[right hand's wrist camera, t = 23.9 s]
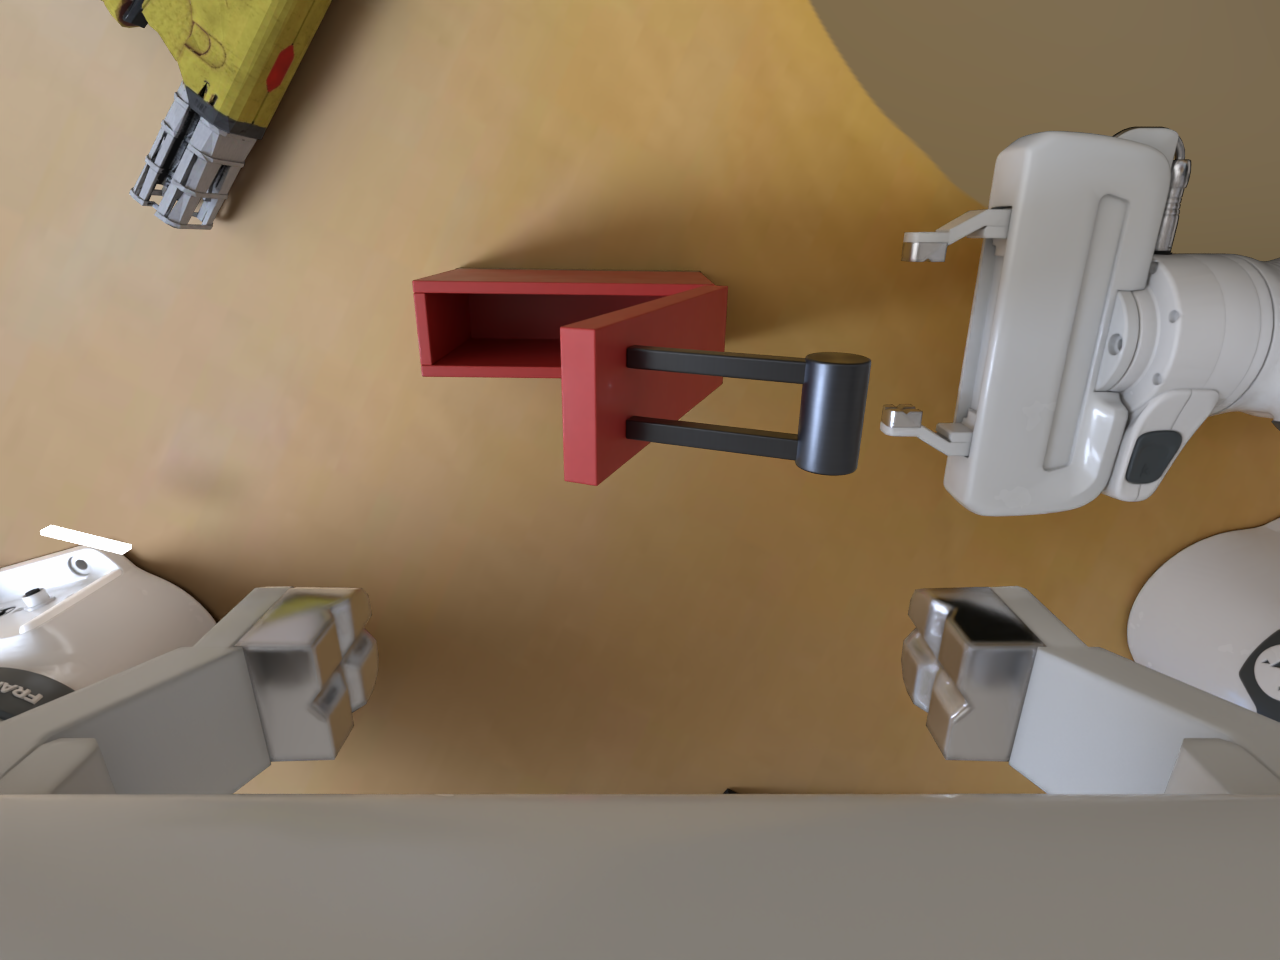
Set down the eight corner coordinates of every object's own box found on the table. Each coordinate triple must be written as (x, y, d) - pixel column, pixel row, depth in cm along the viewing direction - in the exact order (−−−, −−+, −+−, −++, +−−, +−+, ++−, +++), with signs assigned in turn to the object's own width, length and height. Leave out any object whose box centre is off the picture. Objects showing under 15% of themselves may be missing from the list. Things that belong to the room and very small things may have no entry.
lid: (563, 481, 22) (846, 525, 19) (559, 326, 21) (869, 348, 18) (700, 381, 37) (876, 398, 34) (705, 284, 35) (890, 293, 32)
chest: (465, 345, 46) (421, 376, 37) (458, 267, 44) (411, 280, 35) (696, 348, 46) (710, 380, 37) (699, 270, 44) (715, 284, 35)
